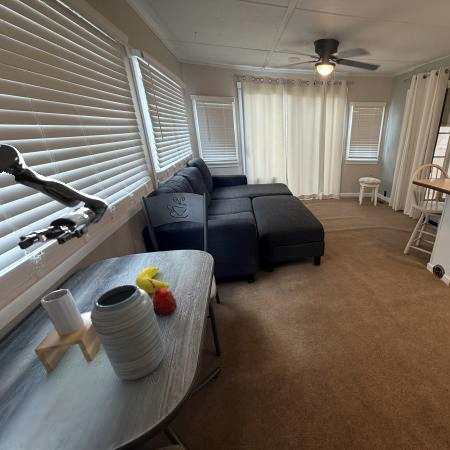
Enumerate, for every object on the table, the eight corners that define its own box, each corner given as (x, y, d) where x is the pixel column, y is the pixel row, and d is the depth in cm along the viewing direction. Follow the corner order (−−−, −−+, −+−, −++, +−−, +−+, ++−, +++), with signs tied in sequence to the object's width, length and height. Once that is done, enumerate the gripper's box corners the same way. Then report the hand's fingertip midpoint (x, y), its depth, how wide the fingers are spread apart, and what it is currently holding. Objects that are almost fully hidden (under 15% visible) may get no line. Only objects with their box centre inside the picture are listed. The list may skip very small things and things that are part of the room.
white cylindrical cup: (53, 337, 64) (35, 304, 60) (64, 323, 69) (48, 291, 65) (78, 332, 65) (62, 299, 61) (87, 318, 70) (73, 287, 66)
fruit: (157, 263, 108) (169, 282, 94) (158, 272, 109) (169, 293, 95) (131, 267, 101) (139, 289, 87) (132, 277, 102) (140, 300, 88)
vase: (115, 362, 65) (85, 293, 57) (162, 339, 72) (141, 275, 64) (119, 395, 57) (84, 320, 48) (172, 366, 64) (149, 296, 55)
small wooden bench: (47, 372, 63) (33, 350, 60) (71, 337, 74) (61, 317, 71) (92, 361, 66) (81, 339, 63) (109, 329, 76) (101, 309, 74)
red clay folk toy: (181, 309, 84) (172, 273, 79) (161, 321, 79) (150, 284, 73) (170, 301, 88) (160, 266, 83) (150, 313, 83) (138, 276, 77)
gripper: (40, 216, 78) (1, 235, 64) (92, 211, 82) (66, 228, 68) (50, 237, 81) (14, 260, 66) (100, 231, 85) (76, 251, 70)
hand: (40, 243), depth 67 cm, fingers open, 8 cm apart
